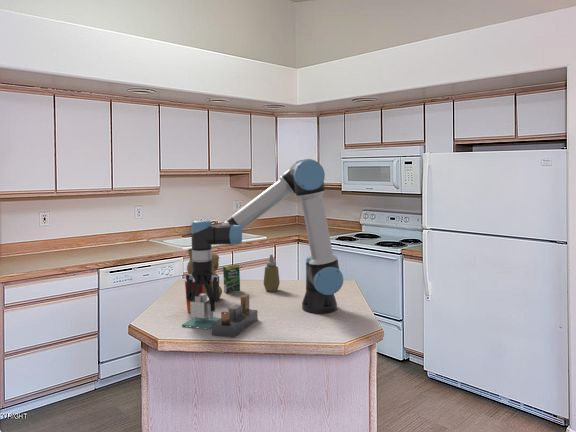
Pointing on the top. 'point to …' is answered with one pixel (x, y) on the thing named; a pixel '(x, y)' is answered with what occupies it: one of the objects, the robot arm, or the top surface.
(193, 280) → the coffee cup
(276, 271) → the squeeze bottle
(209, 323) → the rubber mat
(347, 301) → the top surface
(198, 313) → the lever cap
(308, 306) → the robot arm
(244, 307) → the hand plane
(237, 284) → the coffee box
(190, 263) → the ceramic vessel
